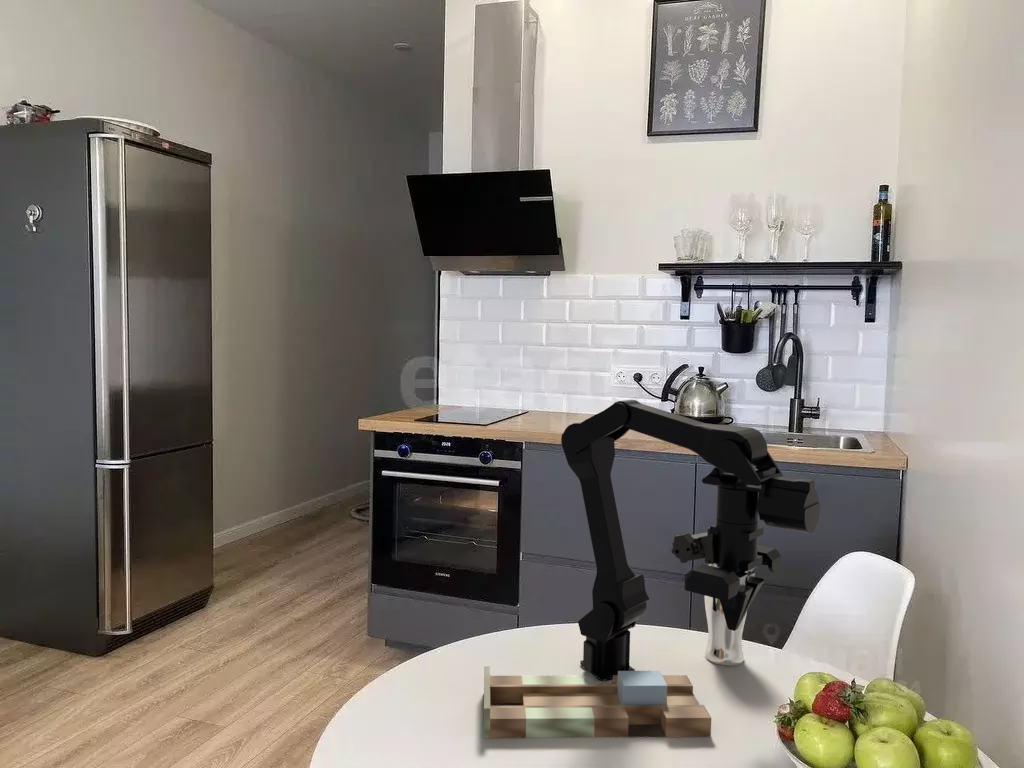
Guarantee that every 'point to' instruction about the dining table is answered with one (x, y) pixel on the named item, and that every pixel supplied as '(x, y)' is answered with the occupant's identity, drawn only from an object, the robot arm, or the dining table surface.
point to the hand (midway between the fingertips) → (732, 629)
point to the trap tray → (586, 709)
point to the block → (641, 688)
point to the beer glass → (722, 635)
